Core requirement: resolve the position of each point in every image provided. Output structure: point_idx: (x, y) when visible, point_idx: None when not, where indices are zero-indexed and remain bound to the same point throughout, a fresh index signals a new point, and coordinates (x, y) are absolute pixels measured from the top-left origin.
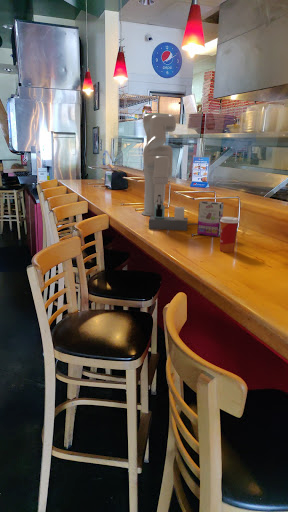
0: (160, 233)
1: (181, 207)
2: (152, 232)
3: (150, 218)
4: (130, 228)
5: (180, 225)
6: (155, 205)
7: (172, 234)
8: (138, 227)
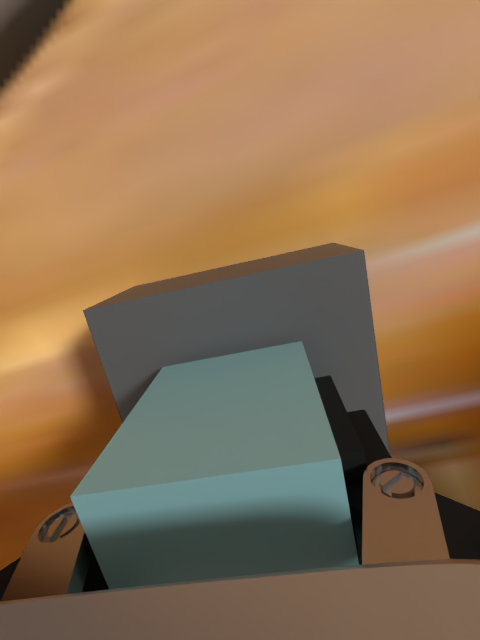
0: (20, 432)
1: None
2: (12, 365)
3: (152, 310)
4: (40, 86)
5: None
6: (243, 478)
7: (44, 515)
8: (138, 157)
